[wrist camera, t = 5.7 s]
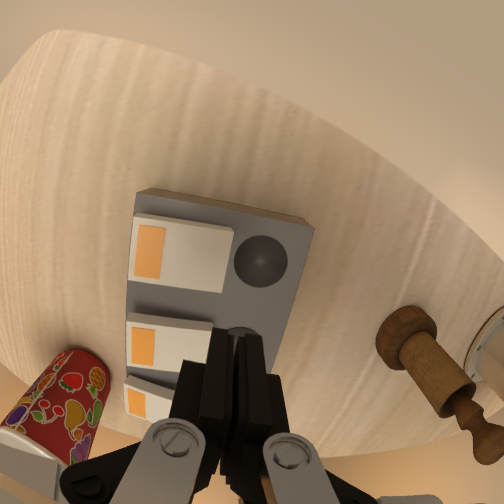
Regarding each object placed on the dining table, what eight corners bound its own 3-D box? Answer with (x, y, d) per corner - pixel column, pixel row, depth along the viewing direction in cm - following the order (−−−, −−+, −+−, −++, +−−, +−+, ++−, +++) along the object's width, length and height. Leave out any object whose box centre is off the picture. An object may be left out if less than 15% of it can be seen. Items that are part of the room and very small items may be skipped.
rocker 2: (231, 227, 18) (234, 232, 17) (219, 285, 20) (221, 293, 18) (137, 212, 17) (133, 216, 16) (131, 272, 18) (127, 280, 17)
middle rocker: (212, 322, 20) (214, 332, 19) (204, 364, 21) (206, 375, 20) (129, 311, 19) (126, 321, 18) (128, 355, 20) (126, 366, 19)
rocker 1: (196, 397, 21) (192, 407, 20) (191, 425, 22) (188, 435, 21) (129, 374, 22) (122, 383, 20) (130, 404, 23) (125, 413, 21)
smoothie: (44, 337, 25) (-52, 467, 5) (104, 337, 25) (11, 510, 6) (73, 394, 27) (13, 522, 8) (131, 398, 27) (84, 555, 8)
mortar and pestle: (368, 326, 26) (469, 471, 9) (421, 294, 25) (543, 405, 8) (382, 368, 28) (459, 495, 11) (429, 339, 27) (521, 445, 10)
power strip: (302, 218, 23) (316, 229, 19) (248, 404, 28) (250, 431, 24) (150, 188, 21) (134, 193, 17) (136, 384, 27) (127, 409, 23)
